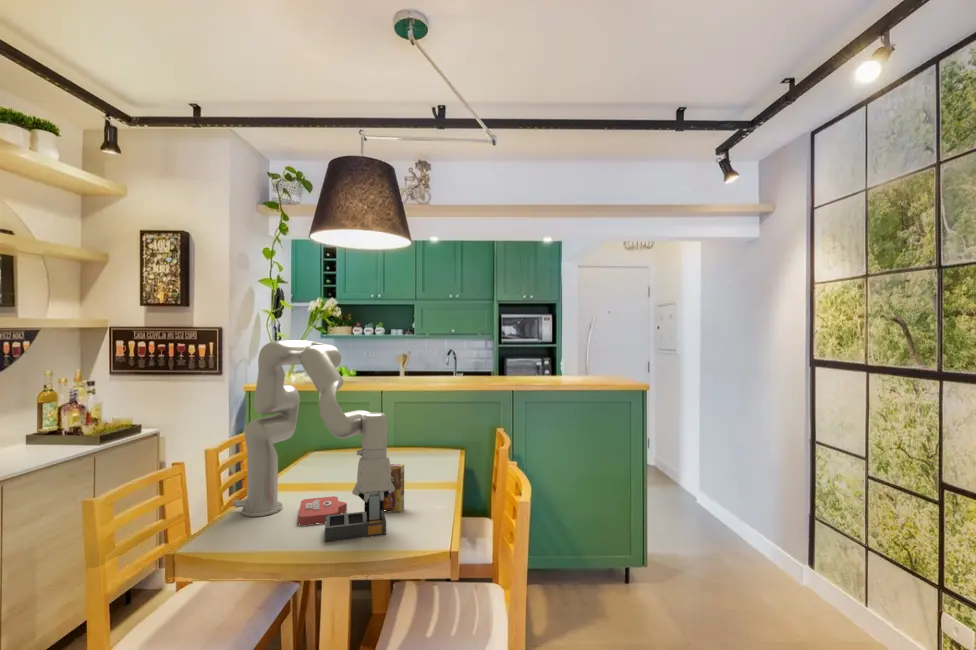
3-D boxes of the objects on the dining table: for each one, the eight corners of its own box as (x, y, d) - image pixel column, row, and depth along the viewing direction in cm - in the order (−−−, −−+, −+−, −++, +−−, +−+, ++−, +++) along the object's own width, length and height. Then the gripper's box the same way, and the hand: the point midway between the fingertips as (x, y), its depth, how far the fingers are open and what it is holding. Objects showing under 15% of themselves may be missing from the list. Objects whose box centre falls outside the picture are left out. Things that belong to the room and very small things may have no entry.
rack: (324, 542, 138) (325, 528, 138) (325, 528, 148) (326, 515, 148) (386, 535, 143) (386, 521, 143) (383, 522, 153) (383, 509, 154)
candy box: (404, 508, 166) (405, 464, 167) (400, 512, 162) (401, 467, 162) (380, 506, 167) (380, 463, 168) (375, 511, 163) (375, 466, 164)
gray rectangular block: (369, 530, 144) (369, 496, 144) (368, 523, 150) (368, 490, 150) (379, 529, 145) (379, 495, 145) (377, 522, 151) (378, 489, 151)
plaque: (347, 510, 155) (297, 515, 150) (347, 522, 155) (297, 527, 150) (346, 493, 172) (301, 497, 167) (345, 504, 172) (301, 508, 167)
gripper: (347, 458, 142) (346, 520, 142) (402, 454, 147) (401, 514, 146) (346, 452, 149) (346, 511, 149) (399, 448, 154) (398, 506, 154)
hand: (373, 512), depth 148 cm, fingers closed on gray rectangular block, 2 cm apart
